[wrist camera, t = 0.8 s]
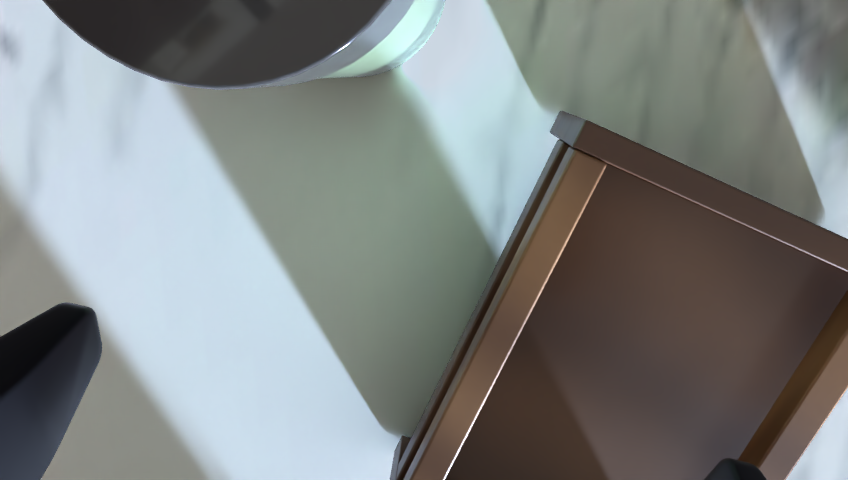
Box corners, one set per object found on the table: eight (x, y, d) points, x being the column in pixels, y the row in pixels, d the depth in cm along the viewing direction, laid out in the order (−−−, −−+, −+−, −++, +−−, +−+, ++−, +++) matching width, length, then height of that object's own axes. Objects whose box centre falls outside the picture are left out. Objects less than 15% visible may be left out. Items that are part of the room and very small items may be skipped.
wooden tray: (638, 553, 26) (674, 651, 21) (394, 451, 25) (380, 530, 21) (837, 236, 22) (928, 276, 18) (560, 109, 22) (585, 119, 18)
